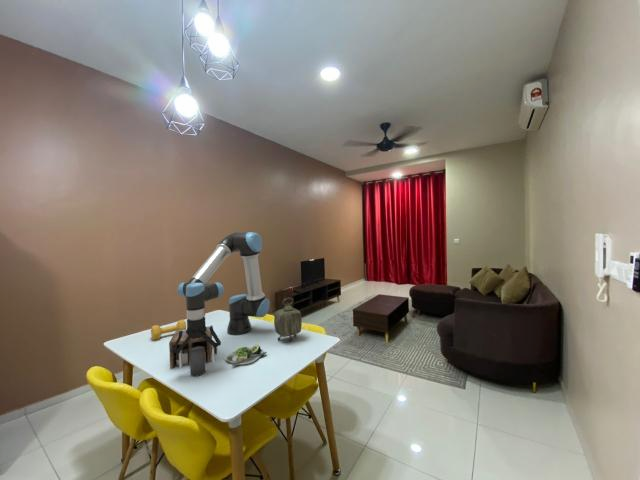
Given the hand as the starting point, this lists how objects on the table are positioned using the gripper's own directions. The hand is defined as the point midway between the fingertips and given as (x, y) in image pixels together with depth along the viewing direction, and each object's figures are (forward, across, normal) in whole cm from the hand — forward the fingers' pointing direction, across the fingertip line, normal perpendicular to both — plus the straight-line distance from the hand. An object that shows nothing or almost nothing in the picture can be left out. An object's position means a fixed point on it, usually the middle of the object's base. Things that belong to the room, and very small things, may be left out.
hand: (197, 363), depth 118 cm
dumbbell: (+5, +22, -55) cm, 60 cm away
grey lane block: (+4, +8, -15) cm, 18 cm away
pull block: (+4, 0, -6) cm, 8 cm away
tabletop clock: (+4, -47, -20) cm, 51 cm away
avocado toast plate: (+5, -22, -8) cm, 24 cm away
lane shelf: (+4, +4, -17) cm, 18 cm away
